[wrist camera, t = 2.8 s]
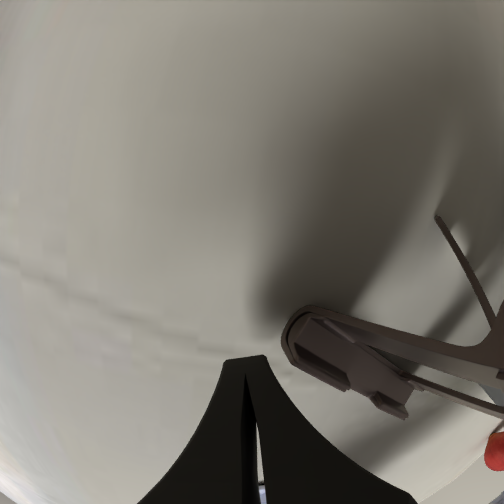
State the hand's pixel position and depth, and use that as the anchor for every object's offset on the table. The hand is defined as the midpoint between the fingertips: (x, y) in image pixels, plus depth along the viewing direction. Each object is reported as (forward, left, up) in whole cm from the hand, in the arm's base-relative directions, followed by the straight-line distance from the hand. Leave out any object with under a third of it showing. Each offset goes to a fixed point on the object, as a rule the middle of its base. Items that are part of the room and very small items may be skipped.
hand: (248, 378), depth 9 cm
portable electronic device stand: (0, -7, -2) cm, 7 cm away
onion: (-28, -30, -2) cm, 41 cm away
